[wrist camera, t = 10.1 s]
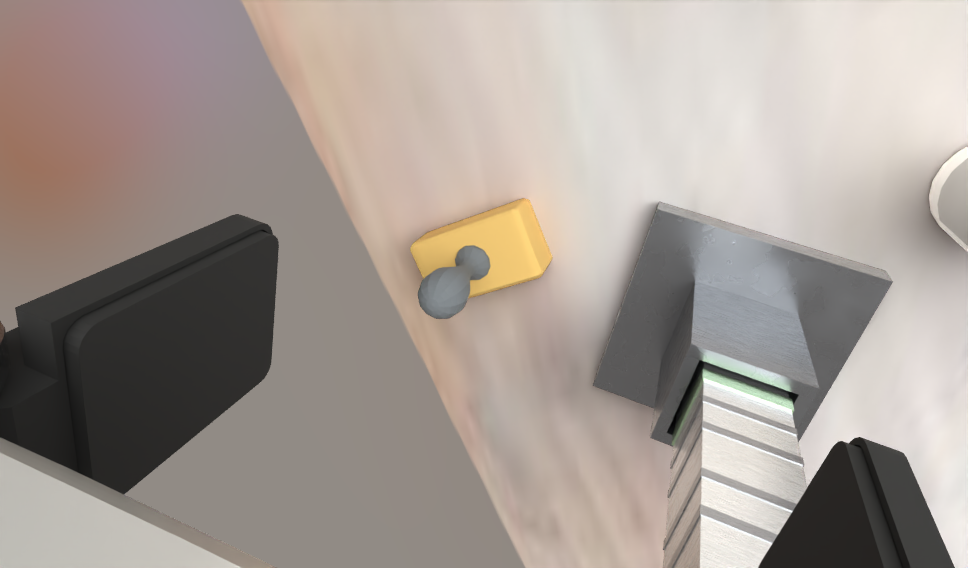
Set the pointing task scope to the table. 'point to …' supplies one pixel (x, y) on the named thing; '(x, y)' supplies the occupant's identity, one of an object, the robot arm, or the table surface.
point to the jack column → (730, 471)
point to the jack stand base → (734, 315)
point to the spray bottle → (952, 197)
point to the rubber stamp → (479, 257)
